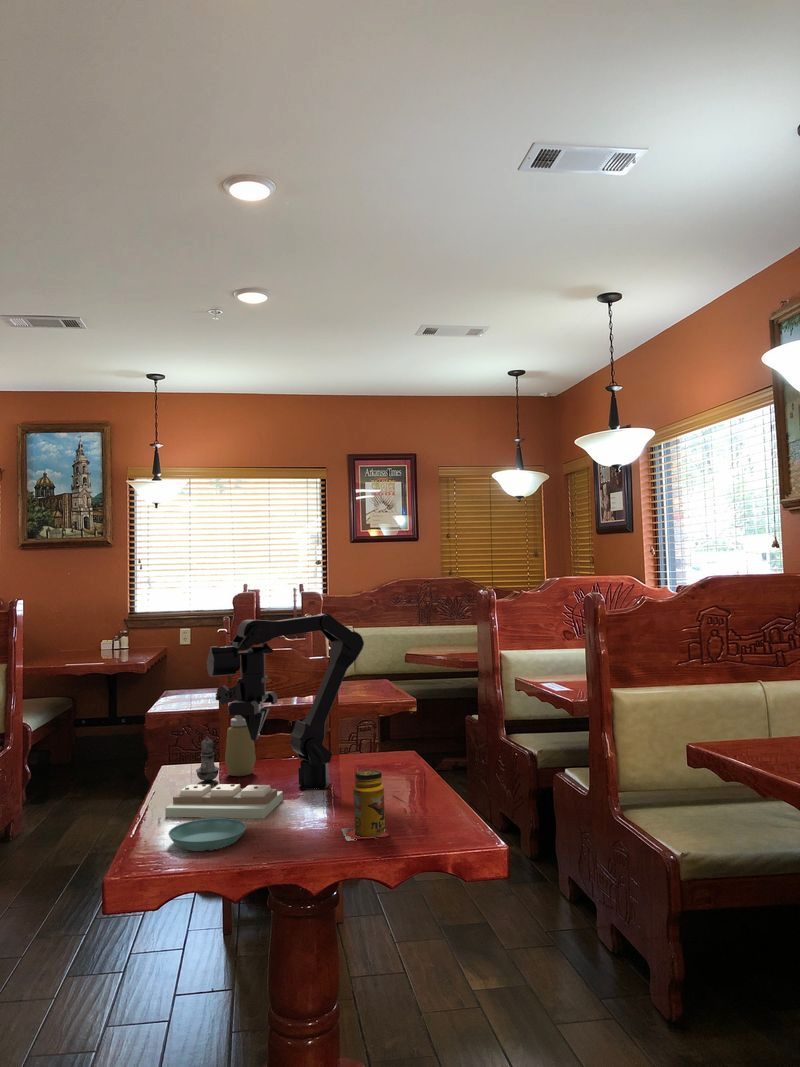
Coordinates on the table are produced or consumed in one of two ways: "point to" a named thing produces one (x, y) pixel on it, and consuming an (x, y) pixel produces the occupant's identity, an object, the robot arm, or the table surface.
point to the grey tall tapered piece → (207, 764)
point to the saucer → (207, 833)
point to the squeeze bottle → (239, 748)
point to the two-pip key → (225, 790)
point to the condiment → (368, 805)
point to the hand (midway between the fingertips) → (254, 740)
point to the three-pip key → (195, 790)
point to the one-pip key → (255, 791)
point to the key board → (224, 806)
